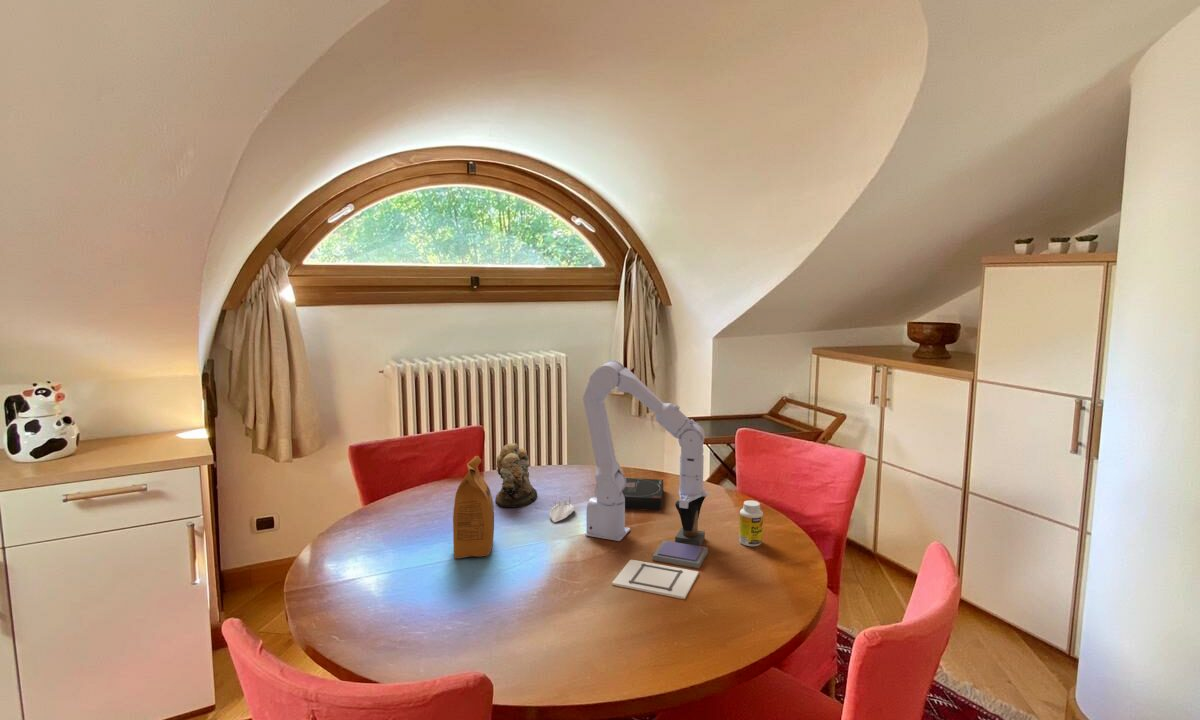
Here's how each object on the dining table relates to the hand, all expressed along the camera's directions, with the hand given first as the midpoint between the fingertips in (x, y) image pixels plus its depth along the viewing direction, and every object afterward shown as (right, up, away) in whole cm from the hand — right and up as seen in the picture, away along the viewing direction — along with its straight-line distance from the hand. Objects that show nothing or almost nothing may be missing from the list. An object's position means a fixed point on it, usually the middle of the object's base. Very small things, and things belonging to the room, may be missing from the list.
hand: (690, 526), depth 158 cm
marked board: (-10, -7, -19) cm, 22 cm away
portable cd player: (-13, 0, +30) cm, 33 cm away
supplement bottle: (+15, -4, 0) cm, 15 cm away
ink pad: (-3, -5, -8) cm, 10 cm away
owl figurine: (-47, 0, +30) cm, 56 cm away
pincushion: (-33, -2, +18) cm, 37 cm away
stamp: (0, -4, +1) cm, 4 cm away
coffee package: (-53, -5, -4) cm, 53 cm away
